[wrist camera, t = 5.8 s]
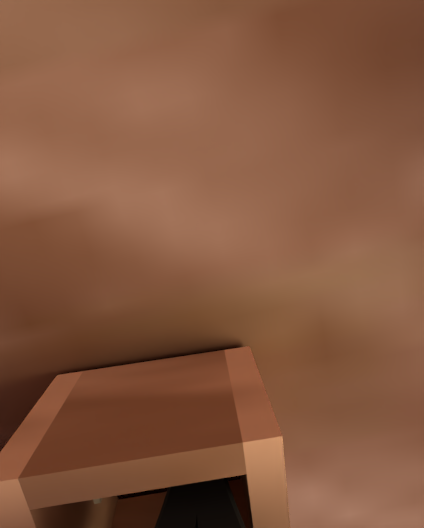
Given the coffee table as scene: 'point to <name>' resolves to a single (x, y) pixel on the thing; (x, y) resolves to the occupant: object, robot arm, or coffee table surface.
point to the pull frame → (145, 444)
